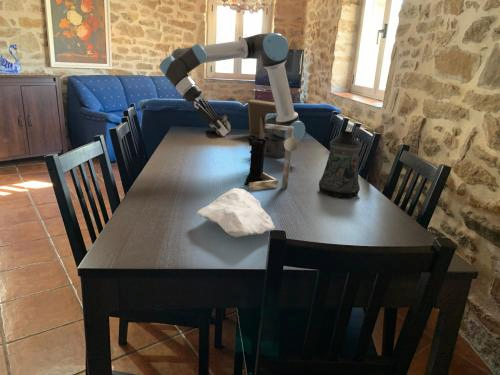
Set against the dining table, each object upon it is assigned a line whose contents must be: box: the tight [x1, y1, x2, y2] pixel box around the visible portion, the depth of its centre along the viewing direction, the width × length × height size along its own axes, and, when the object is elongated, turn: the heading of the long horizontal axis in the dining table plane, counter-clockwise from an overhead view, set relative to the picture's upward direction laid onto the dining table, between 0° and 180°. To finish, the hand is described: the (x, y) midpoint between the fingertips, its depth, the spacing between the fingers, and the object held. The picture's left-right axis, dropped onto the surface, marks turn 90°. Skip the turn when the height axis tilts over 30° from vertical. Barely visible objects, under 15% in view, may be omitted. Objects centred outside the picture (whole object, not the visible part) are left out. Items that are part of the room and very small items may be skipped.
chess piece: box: [243, 135, 269, 187], centre depth 153 cm, size 8×8×20 cm
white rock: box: [196, 187, 276, 238], centre depth 114 cm, size 24×35×9 cm
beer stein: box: [318, 130, 362, 200], centre depth 150 cm, size 16×19×25 cm
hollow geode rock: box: [209, 114, 231, 137], centre depth 254 cm, size 28×13×15 cm
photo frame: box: [247, 98, 277, 139], centre depth 246 cm, size 15×22×25 cm
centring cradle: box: [248, 124, 299, 192], centre depth 152 cm, size 19×17×26 cm
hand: (225, 134), depth 156 cm, fingers closed
